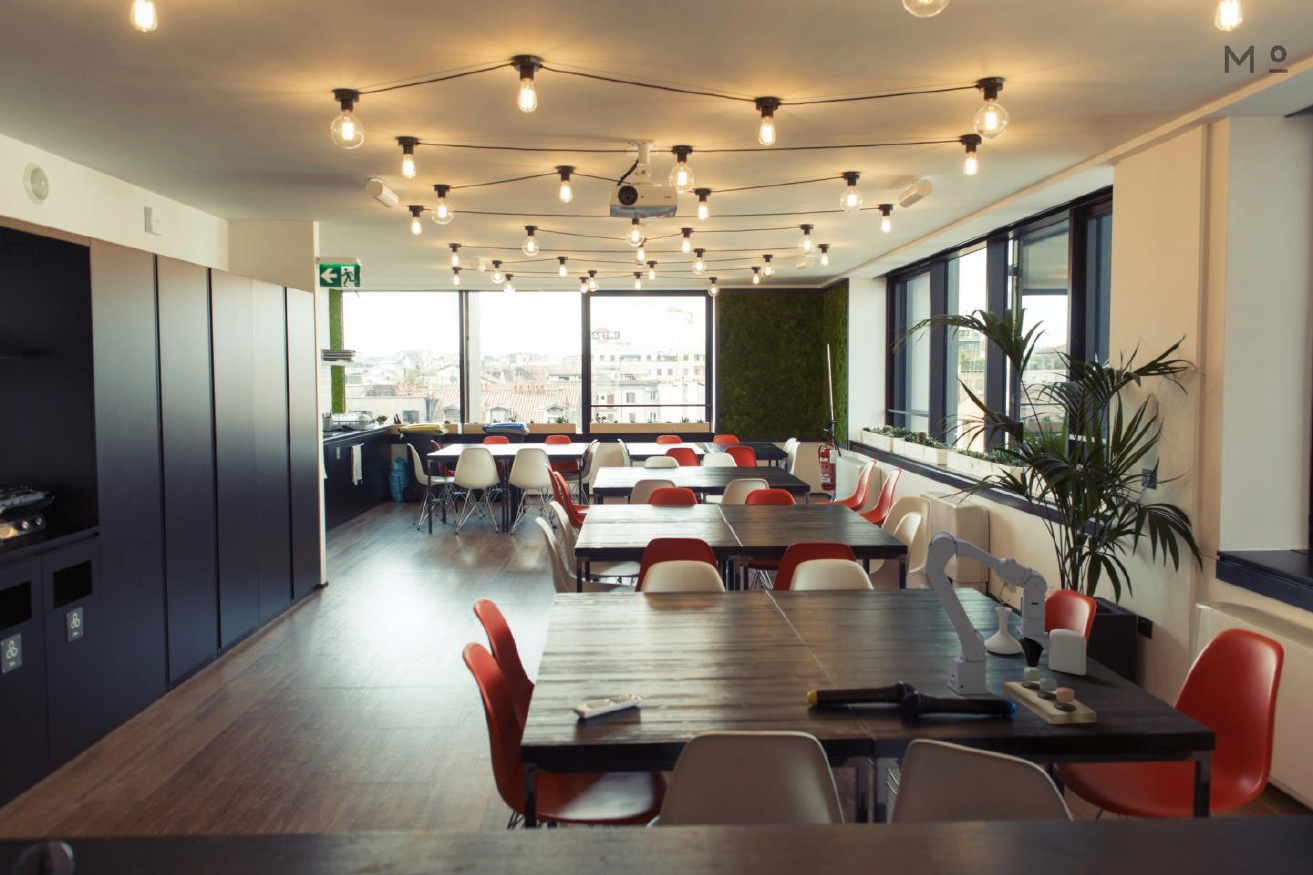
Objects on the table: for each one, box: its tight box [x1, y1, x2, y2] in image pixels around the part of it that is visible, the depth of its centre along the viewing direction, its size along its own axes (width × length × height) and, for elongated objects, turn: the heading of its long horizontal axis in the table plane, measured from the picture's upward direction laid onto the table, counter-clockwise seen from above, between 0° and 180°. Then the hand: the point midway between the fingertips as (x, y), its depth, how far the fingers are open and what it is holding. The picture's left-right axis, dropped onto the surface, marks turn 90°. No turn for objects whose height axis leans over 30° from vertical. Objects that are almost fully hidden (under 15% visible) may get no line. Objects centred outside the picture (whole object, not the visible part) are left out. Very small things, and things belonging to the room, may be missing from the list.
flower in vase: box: [984, 577, 1023, 655], centre depth 280 cm, size 13×11×25 cm
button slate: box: [1039, 676, 1057, 691], centre depth 232 cm, size 4×4×2 cm
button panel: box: [1002, 680, 1098, 725], centre depth 233 cm, size 12×24×3 cm, turn 6°
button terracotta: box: [1056, 686, 1075, 702], centre depth 224 cm, size 4×4×2 cm
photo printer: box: [1048, 628, 1087, 676], centre depth 260 cm, size 10×4×12 cm, turn 47°
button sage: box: [1023, 667, 1041, 681], centre depth 240 cm, size 4×4×2 cm
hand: (1032, 666), depth 240 cm, fingers closed
